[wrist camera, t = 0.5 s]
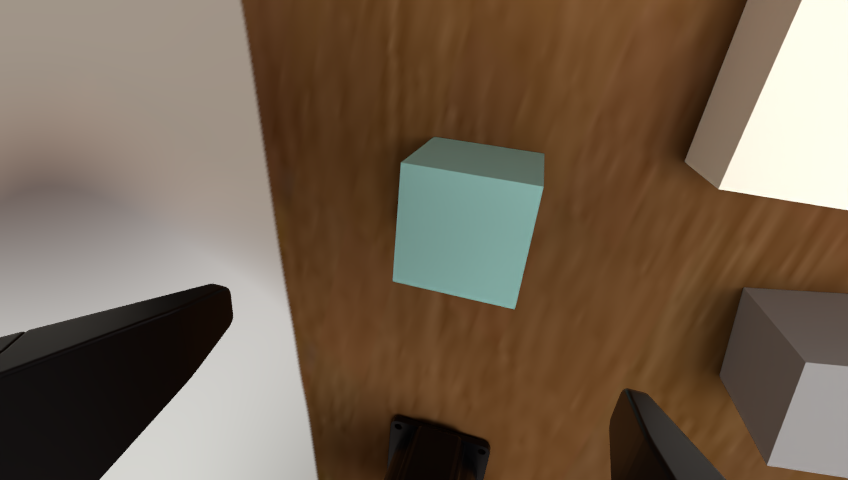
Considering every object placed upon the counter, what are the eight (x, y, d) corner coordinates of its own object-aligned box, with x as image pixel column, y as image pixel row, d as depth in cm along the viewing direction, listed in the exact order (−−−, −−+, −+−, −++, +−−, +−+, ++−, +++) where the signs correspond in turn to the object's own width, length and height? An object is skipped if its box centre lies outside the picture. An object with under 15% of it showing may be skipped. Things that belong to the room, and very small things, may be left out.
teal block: (521, 252, 20) (514, 309, 16) (424, 233, 21) (392, 281, 17) (544, 153, 18) (543, 186, 14) (434, 136, 19) (401, 162, 15)
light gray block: (844, 388, 19) (935, 491, 14) (718, 374, 20) (767, 465, 16) (885, 294, 17) (1006, 381, 12) (742, 286, 18) (806, 362, 14)
